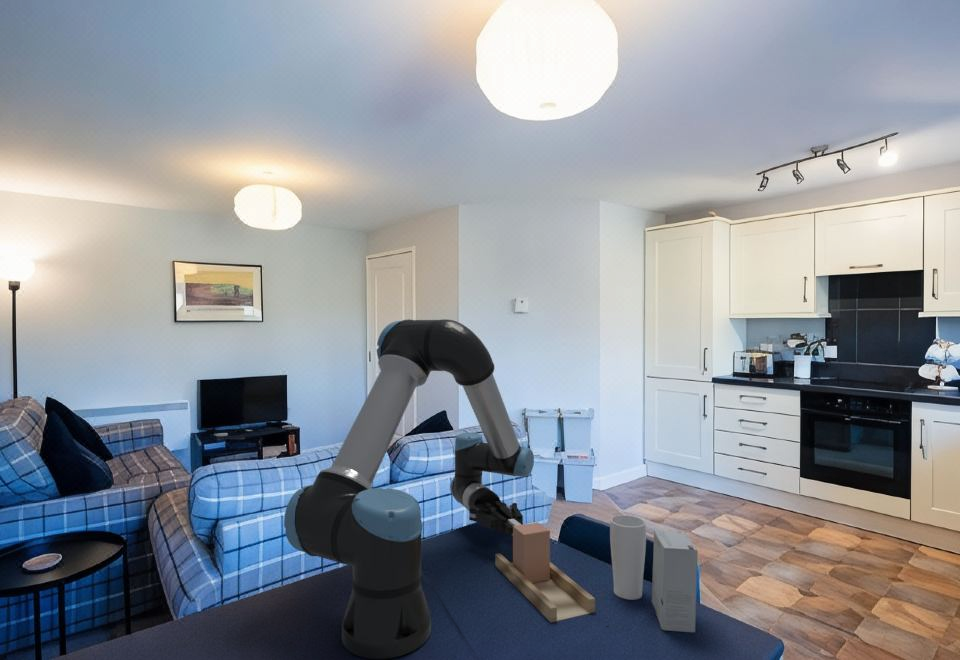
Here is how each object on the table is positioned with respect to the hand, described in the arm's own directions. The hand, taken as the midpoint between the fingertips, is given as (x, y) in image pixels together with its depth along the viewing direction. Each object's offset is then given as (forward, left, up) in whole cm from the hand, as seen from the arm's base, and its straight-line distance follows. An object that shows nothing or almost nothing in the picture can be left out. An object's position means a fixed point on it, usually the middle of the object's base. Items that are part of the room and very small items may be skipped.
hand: (523, 535), depth 109 cm
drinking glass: (+21, -6, -9) cm, 23 cm away
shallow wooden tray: (+4, -6, -8) cm, 11 cm away
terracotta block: (+2, -3, -8) cm, 8 cm away
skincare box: (+28, -13, -9) cm, 32 cm away
